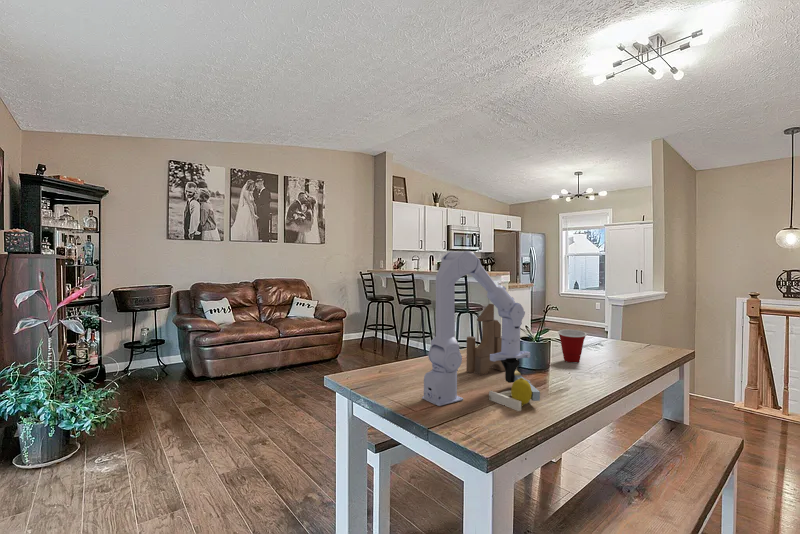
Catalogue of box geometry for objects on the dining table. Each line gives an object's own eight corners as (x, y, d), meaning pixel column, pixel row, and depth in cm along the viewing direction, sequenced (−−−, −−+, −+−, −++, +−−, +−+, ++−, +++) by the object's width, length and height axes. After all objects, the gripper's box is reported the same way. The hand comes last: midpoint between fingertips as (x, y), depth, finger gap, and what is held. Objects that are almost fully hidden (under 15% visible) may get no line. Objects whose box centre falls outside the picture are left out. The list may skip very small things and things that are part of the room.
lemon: (518, 410, 112) (519, 381, 111) (506, 403, 117) (507, 375, 117) (535, 408, 113) (536, 380, 113) (523, 401, 119) (524, 374, 118)
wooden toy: (496, 366, 158) (496, 301, 158) (508, 370, 153) (509, 303, 152) (464, 371, 151) (465, 303, 150) (476, 376, 145) (477, 305, 144)
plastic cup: (558, 363, 162) (558, 333, 162) (556, 357, 173) (556, 328, 172) (588, 365, 159) (588, 334, 159) (584, 359, 169) (584, 330, 169)
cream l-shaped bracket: (518, 411, 111) (518, 402, 111) (488, 399, 121) (489, 391, 120) (539, 404, 116) (540, 396, 116) (509, 394, 126) (509, 385, 125)
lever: (529, 400, 114) (529, 390, 114) (508, 379, 134) (508, 370, 134) (542, 400, 114) (542, 389, 114) (519, 379, 134) (519, 370, 134)
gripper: (500, 343, 124) (499, 387, 125) (537, 340, 130) (536, 382, 130) (486, 339, 131) (485, 381, 131) (522, 336, 137) (521, 377, 137)
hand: (509, 381), depth 131 cm, fingers closed, pressing on lever
